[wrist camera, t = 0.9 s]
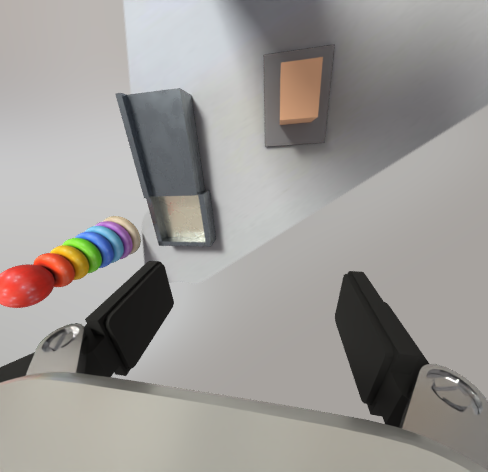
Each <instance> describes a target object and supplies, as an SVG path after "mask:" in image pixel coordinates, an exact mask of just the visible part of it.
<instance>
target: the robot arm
mask: <svg viewBox="0 0 488 472" xmlns="http://www.w3.org/2000/svg"><path fill="white" fill-rule="evenodd" d="M173 304H174V301H173V297H172V293H171V289H170V286H169V282H168V278H167V274H166V270H165V267H164V265H163V264H162V263H161V262H159V261H149V262H147V263H146V264H145V265H144V266H143V267H142V268H141V269H140V270H138V271H137V272H136V273H135V274H134V275H133V276H132V277H131V278H130V279H129V280H128V281H127V282H125V283H124V284H123V285H122V286H121V287H120V288H119V289H118V290H117V291H115V293H113V294H112V295H111V296H110V297H109V298H108V299H107V300H106V301H105V302H104V303H102V304H101V305H100V306H99V307H98V308H97V309H96V310H95V311H94V312H93V313H91V314H90V315H89V316H88V317H87V318H86V319H85V320H86V322H87V324H86V326H85V327H84V326H82V325H81V324H78V323H75V324H69V325H66V326H63V327H61V328H59V329H57V330H55V331H54V332H52V333H50V334H49V335H48V336H47V337H45V338H44V339H43V340H42V341H41V342H40V344H39V345H38V347H37V349H36V351H35V352H34V353H32V354H30V355H28V356H25V357H23V358H21V359H18V360H16V361H14V362H12V363H9V364H7V365H5V366H2V367H1V368H0V472H488V401H487V400H486V398H485V396H484V395H483V394H482V393H481V392H480V391H479V390H478V388H477V387H476V386H475V385H473V384H472V383H471V382H470V381H469V380H467V379H466V378H465V377H463V376H461V375H460V374H458V373H457V372H455V371H453V370H451V369H449V368H447V367H444V366H440V365H437V364H429V363H428V361H427V360H426V358H425V357H424V355H423V354H422V353H421V351H420V350H419V348H418V347H417V345H416V344H415V342H414V341H413V340H412V338H411V337H410V335H409V334H408V332H407V331H406V329H405V328H404V327H403V325H402V324H401V322H400V321H399V319H398V318H397V316H396V315H395V314H394V312H393V311H392V309H391V308H390V306H389V305H388V304H387V303H385V302H383V300H382V299H381V298H380V296H379V294H378V293H377V291H376V290H375V288H374V287H373V285H372V284H371V282H370V281H369V279H368V278H367V277H366V275H365V274H364V272H355V271H354V272H353V271H349V272H348V274H345V275H344V277H343V282H342V286H341V291H340V296H339V300H338V304H337V309H336V313H335V321H336V324H337V328H338V331H339V334H340V337H341V340H342V343H343V346H344V349H345V352H346V355H347V358H348V361H349V364H350V367H351V370H352V373H353V376H354V379H355V382H356V385H357V388H358V391H359V394H360V397H361V400H362V402H364V403H366V404H367V405H368V408H369V411H370V414H372V415H377V416H382V417H383V419H384V422H385V424H381V423H377V422H373V421H369V420H364V419H359V418H354V417H348V416H343V415H338V414H332V413H327V412H321V411H315V410H310V409H304V408H298V407H292V406H286V405H280V404H274V403H268V402H262V401H256V400H250V399H244V398H238V397H232V396H225V395H219V394H213V393H207V392H200V391H194V390H188V389H182V388H176V387H169V386H163V385H157V384H150V383H144V382H137V381H131V380H123V379H118V378H111V376H112V374H113V373H114V372H115V374H118V375H124V376H126V375H127V374H128V372H129V371H130V369H131V368H133V367H134V366H135V365H136V364H137V362H138V361H139V359H140V358H141V356H142V354H143V353H144V351H145V350H146V348H147V347H148V345H149V343H150V342H151V340H152V339H153V337H154V336H155V334H156V332H157V331H158V329H159V328H160V326H161V325H162V323H163V321H164V320H165V318H166V317H167V315H168V314H169V312H170V311H171V309H172V307H173Z"/></svg>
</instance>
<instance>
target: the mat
mask: <svg viewBox="0 0 488 472" xmlns="http://www.w3.org/2000/svg"><path fill="white" fill-rule="evenodd" d="M334 45H335V44H334ZM334 45H327V46H321V47H314V48H307V49H300V50H293V51H287V52H280V53H273V54H266V55H264V110H265V146H280V145H295V144H309V143H324V142H325V134H326V124H327V114H328V104H329V94H330V85H331V75H332V65H333V55H334ZM318 57H323V63H322V74H321V86H320V98H319V110H318V117H317V118H316V119H314V120H313V121H312V122H309V123H297V124H286V125H280V74H281V63H282V62H289V61H296V60H304V59H311V58H318Z"/></svg>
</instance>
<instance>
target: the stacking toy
mask: <svg viewBox="0 0 488 472" xmlns="http://www.w3.org/2000/svg"><path fill="white" fill-rule="evenodd" d="M140 240H141V239H140V235H139V232H138V230H137V229H136V227H135V226H134V225H133V224H132V223H131V222H130V221H128V220H127V219H125V218H123V217H119V216H118V217H117V216H112V217H109V218H106V219H105V220H104V221H103V222H100V223H98V224H97V225H95V226H93V227H90V228H88V229H87V230H86V231H85V232H84V233H81V234H79V235H77V236H76V237H75V238H72V239H69V240H67V241H66V242H64V243H63V245H62V246H58V247H56V248H54V249H53V250H52V251H51V252H50V253H46V254H42V255H40V256H38V257H37V258H36V259H35V261H34V264H33V265H20V266H15V267H12V268H10V269H7V270H6V271H4V272H2V273H1V274H0V304H1V305H3V306H7V307H12V308H21V307H28V306H31V305H34V304H36V303H38V302H40V301H42V300H43V299H45V298H46V297H47V296H48V295H49V294H50V293H51V291H52V289H53V287H63V286H66V285H68V284H70V283H71V282H72V280H77V279H81V278H83V277H84V276H85V275H86V274H87V273H92V272H94V271H96V270H97V269H98V268H103V267H105V266H107V265H109V264H110V263H113V262H116V261H118V260H119V259H123V258H125V257H127V256H128V255H129V254H132V253H134V252H136V251H137V249H138V248H139V246H140V242H141V241H140Z"/></svg>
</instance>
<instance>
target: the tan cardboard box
mask: <svg viewBox="0 0 488 472" xmlns="http://www.w3.org/2000/svg"><path fill="white" fill-rule="evenodd" d="M322 63H323V57H318V58H311V59H304V60H296V61H289V62H282V63H281V74H280V125H286V124H297V123H309V122H312V121H313V120H314V119H316V118H317V117H318V110H319V98H320V86H321V74H322Z"/></svg>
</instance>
